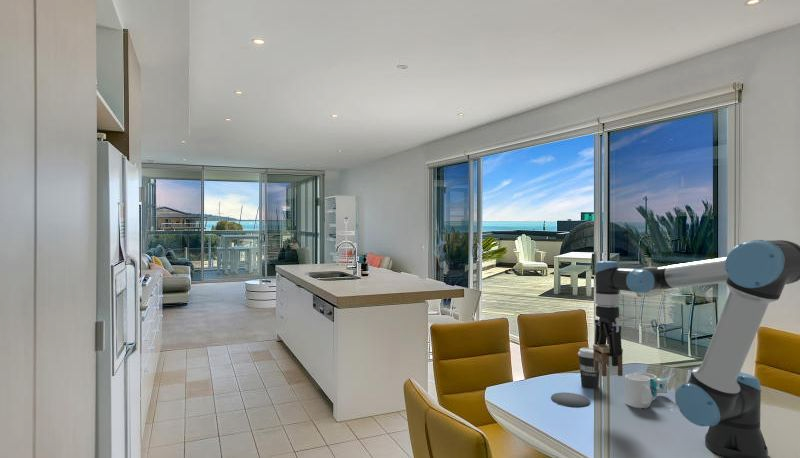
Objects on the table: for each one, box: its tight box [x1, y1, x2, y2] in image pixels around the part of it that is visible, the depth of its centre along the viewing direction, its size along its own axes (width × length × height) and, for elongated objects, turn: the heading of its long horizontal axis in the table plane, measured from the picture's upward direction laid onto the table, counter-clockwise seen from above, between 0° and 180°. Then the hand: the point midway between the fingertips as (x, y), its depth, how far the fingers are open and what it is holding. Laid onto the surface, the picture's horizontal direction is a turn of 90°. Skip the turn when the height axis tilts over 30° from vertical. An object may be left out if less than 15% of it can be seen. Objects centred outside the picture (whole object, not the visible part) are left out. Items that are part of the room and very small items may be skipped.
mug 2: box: [633, 371, 668, 401], centre depth 184 cm, size 8×12×8 cm
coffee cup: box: [577, 347, 601, 390], centre depth 196 cm, size 10×10×15 cm
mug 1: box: [624, 373, 653, 409], centre depth 173 cm, size 12×8×10 cm
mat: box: [550, 392, 591, 408], centre depth 180 cm, size 14×14×1 cm
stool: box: [592, 343, 624, 377], centre depth 164 cm, size 7×7×9 cm
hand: (607, 371), depth 164 cm, fingers closed on stool, 7 cm apart
